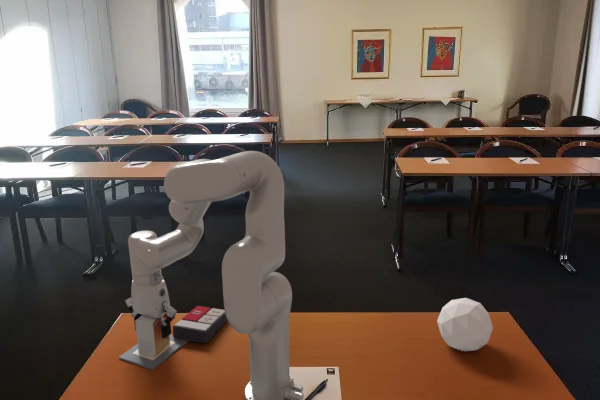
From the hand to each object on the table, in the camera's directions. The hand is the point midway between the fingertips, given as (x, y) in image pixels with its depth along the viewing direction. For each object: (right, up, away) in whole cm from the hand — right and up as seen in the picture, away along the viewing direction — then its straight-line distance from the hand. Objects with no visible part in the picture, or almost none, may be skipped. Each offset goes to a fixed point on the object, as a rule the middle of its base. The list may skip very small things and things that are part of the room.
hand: (153, 332), depth 134 cm
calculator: (+11, -2, +12) cm, 16 cm away
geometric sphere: (+88, -5, +2) cm, 88 cm away
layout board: (0, -6, +2) cm, 6 cm away
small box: (0, -5, +1) cm, 5 cm away
